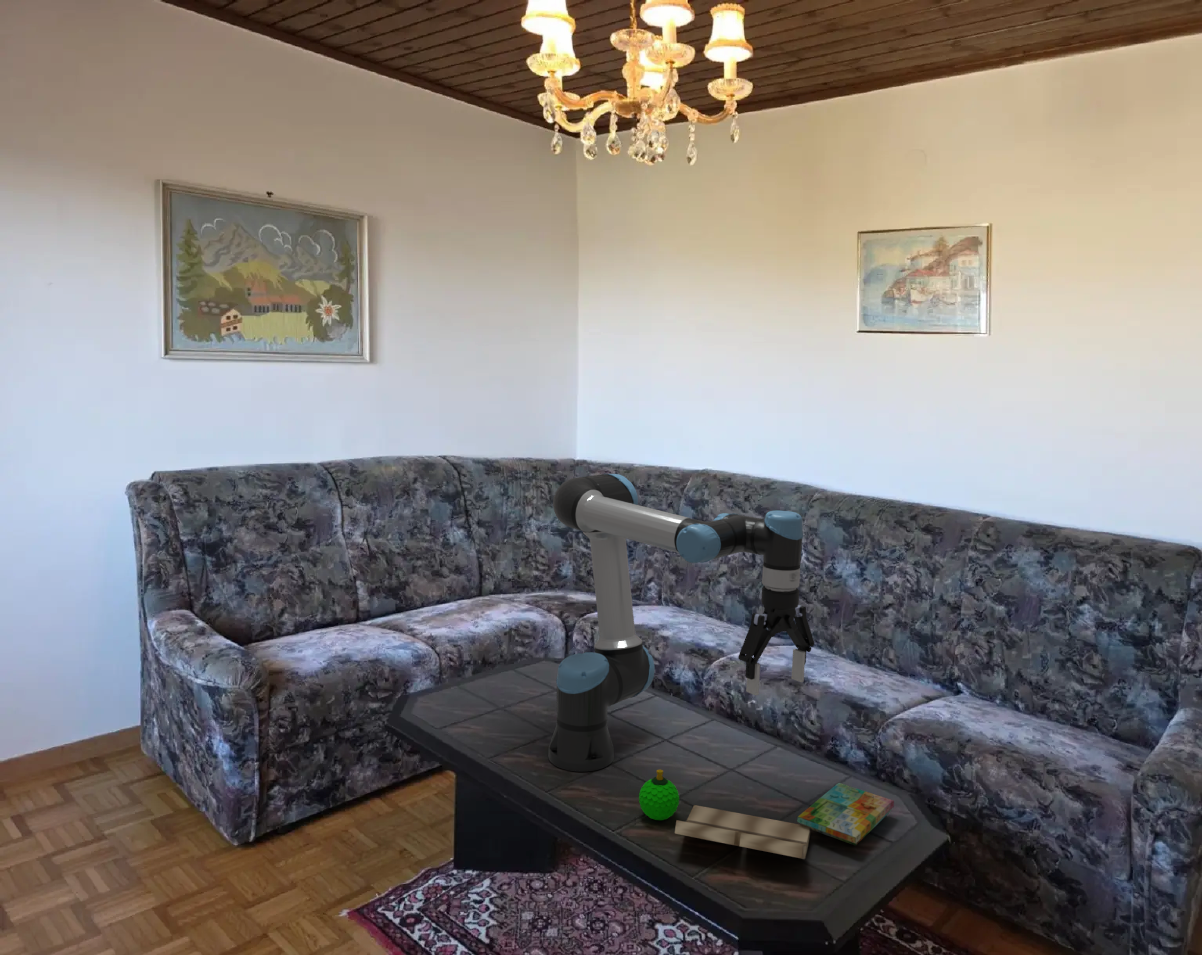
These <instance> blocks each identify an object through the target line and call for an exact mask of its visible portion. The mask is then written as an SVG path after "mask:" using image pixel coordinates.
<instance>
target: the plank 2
mask: <svg viewBox="0 0 1202 955" xmlns="http://www.w3.org/2000/svg"><path fill="white" fill-rule="evenodd" d="M738 847H742V848H748V849H752V850H757V851H763V852H765V853H766V852H768V853H773V854H777V855H781V856H782V855H783V856H787V857H792V858H798V859H802V860H805V859H806V857H805V853H806V846H805V845H803V844H798V843H793V842H788V841H782V840H777V839H772V838H767V837H761V836H756V835H751V834H746V833H741V836H740V845H739V846H738ZM806 854H807V853H806Z"/></svg>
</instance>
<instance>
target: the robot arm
mask: <svg viewBox="0 0 1202 955" xmlns="http://www.w3.org/2000/svg"><path fill="white" fill-rule="evenodd" d="M552 502H553V503H552V504H553V505H552V506H553V511H554V514H555V517H556V518H557V519H558V521H560V522H561V524H563V525H564V526H566V527H568V528H571V529H574V530H578V531H582V533H583V535H585V536H586V537H587V538H588V539H589V542H590V543H589V545H590V553H591V562H592V570H593V571H592V572H593V582H594V584H593V585H594V591H595V601H596V604H595V605H596V613H597V614H596V615H597V621H598V622H597V624H598V631H599V632H598V634H599V638H598V639H597V641H596V642H595V643H594V652H589V651H586V652H583V653H581V652H578V653H575V654H571V655H568V656H567V657H565V658H564V659H563V660H561V662H560V663H559V665H558V668H557V675H556V725H555V728H554V731H553V734H552V737H551V739H550V742H549V745H548V761H549V763H551V764H552V765H554V767H557V768H559V769H561V770H566V771H571V772H580V773H581V772H583V773H585V772H593V771H599V770H602V769H604V768H606V767H608V766H609V765H611V764H612V763H613V761H614V760H615V759H614V756H615V755H614V754H615V748H614V745H613V742H612V737H611V734H610V731H609V729H608V708H610V707H611V706H613V705H616V704H619V703H620V702H621V703H622V702H623V701H625V700H628V699H631V698H634V697H636V696H638V695H640V694H642V693H643V692H645V691H646V690H647V689H648V688H649V687H650V686H651V684H652V683H653V680H654V678H655V671H656V670H655V669H656V668H655V662H654V658H653V656H652V655H651V654H650V651H649V650H648V649H647V648H646V647H645V646H644V645H643V640H642V639H641V638H640V637H639V636H637V634H636V628H635V617H634V609H633V608H634V606H633V599H632V597H633V596H632V588H631V578H630V569H629V568H630V567H629V566H630V565H629V558H628V548H627V540H631V541H634V542H636V543H637V542H639V543H642V544H645V545H648V546H649V545H650V546H653V547H655V548H659V549H663V550H667V551H670V552H673V553H677V554H679V555H680V557H682V559H684V560H685V561H686V562H688V563H691V564H698V563H700V564H701V563H707V562H710V561H712V560H716V559H719V558H723V557H727V556H731V555H734V554H737V553H747V554H754V555H758V556H762V560H763V563H762V580H761V583H762V585H763V587H762V588H761V599H760V602H761V604H762V606H763V612H762V614H761V613H760V614H759V613H756V612H753V613H752V614H751V617H750V618H751V620H750V625H749V628H748V631H747V633H746V636H745V637H744V638H745V639H744V641H743V643H742V646H741V649H740V651H739V654H738V660H739V661H742V662H744V663H745V678H746V688H745V690H746V693H749V694H751V695H753V696H759V694H760V691H759V690H760V676H761V674H760V673H761V663H759V662H758V661H759V660H760V658H761V656H762V654H764V651H765V650H766V648H767V646H768V644H769V642H770V641H771V640H772V638H774V637H775V636H776V634H779V633H781V632H786V633H787V635H788V636H789V638H790V640H791V641H792V643H793V644H794V646H795V648H792V659H791V660H792V664H791V678H790V679H792V680H794V681H797V682H800V683H803V682H805V667H806V666H805V665H806V663H807V653H810V652H811V651H812V648H813V647H814V645H815V641H814V640H815V639H814V638H813V634H812V630H811V628H810V623H809V621H808V618H807V607H806V606H803V605H800V604H799V603H800V590H799V589H798V588H799V587H800V579H801V578H800V577H801V559H802V546H803V538H804V533H803V532H804V530H803V528H804V527H803V517H802V515H801V514H799V513H798V512H795V511H791V510H769V511H768V512H767V513H766V514H765V517H764V518H759V517H755V516H747V515H742V514H738V513H734V512H733V513H725V512H722V513H719V514H717V516H716V517H715V518H714V519H713V520H711V521H704V520H698V519H695V518H691V517H689V516H688V517H687V516H683V515H679V514H675V513H670V512H667V511H664V510H658V509H655V508H651V507H647V506H644V505H643V506H642V505H639V497H638V493H637V490H636V487H635V486H634V485H633V483H632V482H631V481H630V480H628V478H627V477H625V476H624V475H622V474H618V473H601V474H595V475H589V476H581V477H579V476H577V477H573V478H569V479H567V480H566V481H564V482H562V484H560V485H559V487H558V488H557V490H556V491H555V493H554V496H553V500H552Z"/></svg>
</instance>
